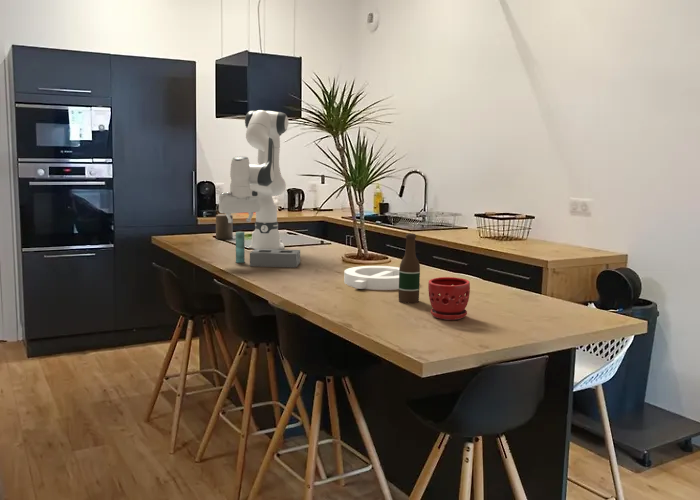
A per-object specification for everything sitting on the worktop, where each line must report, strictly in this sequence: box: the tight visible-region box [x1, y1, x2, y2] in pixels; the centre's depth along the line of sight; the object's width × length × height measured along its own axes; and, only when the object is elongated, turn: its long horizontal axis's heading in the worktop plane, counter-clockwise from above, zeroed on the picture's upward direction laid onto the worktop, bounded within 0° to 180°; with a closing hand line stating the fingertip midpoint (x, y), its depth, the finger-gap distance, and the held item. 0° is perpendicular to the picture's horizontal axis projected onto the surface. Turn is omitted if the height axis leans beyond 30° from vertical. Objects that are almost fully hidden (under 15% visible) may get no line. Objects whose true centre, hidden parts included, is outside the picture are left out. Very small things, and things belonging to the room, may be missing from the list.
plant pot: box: [427, 276, 471, 321], centre depth 215 cm, size 13×13×12 cm
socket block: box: [249, 248, 301, 268], centre depth 306 cm, size 13×21×6 cm, turn 87°
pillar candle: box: [215, 213, 234, 240], centre depth 389 cm, size 10×10×15 cm
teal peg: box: [235, 231, 246, 264], centre depth 309 cm, size 4×4×14 cm
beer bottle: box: [398, 232, 421, 304], centre depth 235 cm, size 8×8×24 cm
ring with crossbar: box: [343, 265, 400, 291], centre depth 269 cm, size 28×28×5 cm
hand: (239, 222), depth 307 cm, fingers open, 8 cm apart
